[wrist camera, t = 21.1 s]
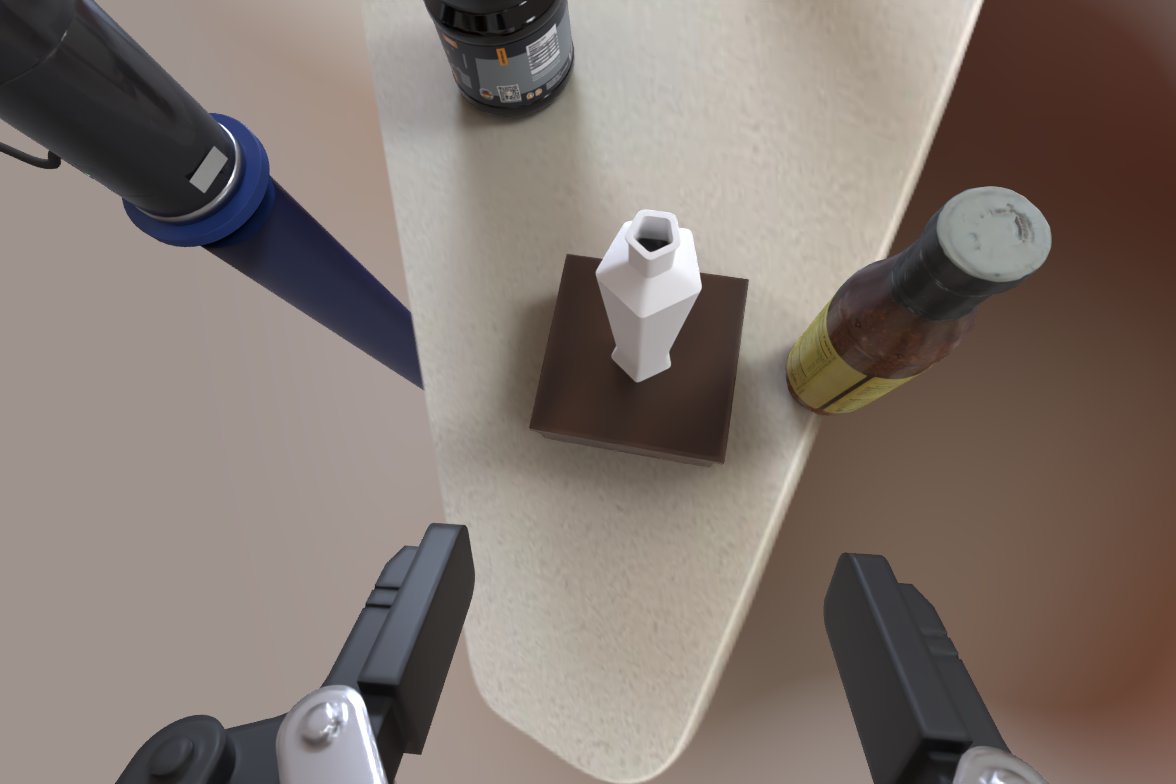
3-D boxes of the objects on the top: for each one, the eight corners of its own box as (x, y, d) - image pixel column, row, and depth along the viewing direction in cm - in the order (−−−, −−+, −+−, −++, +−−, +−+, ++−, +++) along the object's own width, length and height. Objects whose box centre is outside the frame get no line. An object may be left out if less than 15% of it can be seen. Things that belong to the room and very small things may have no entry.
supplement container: (472, 17, 49) (424, -140, 37) (586, 28, 48) (573, -131, 36) (443, 116, 47) (382, -19, 35) (563, 130, 45) (541, -5, 34)
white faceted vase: (601, 381, 35) (583, 281, 20) (613, 318, 36) (604, 179, 21) (671, 393, 34) (705, 299, 20) (682, 329, 35) (721, 194, 21)
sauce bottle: (881, 355, 39) (1126, 194, 20) (851, 433, 38) (1082, 342, 19) (793, 321, 40) (947, 136, 21) (762, 395, 39) (894, 273, 20)
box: (540, 440, 39) (529, 428, 35) (573, 284, 42) (566, 253, 37) (711, 470, 38) (724, 463, 33) (734, 307, 41) (748, 279, 36)
